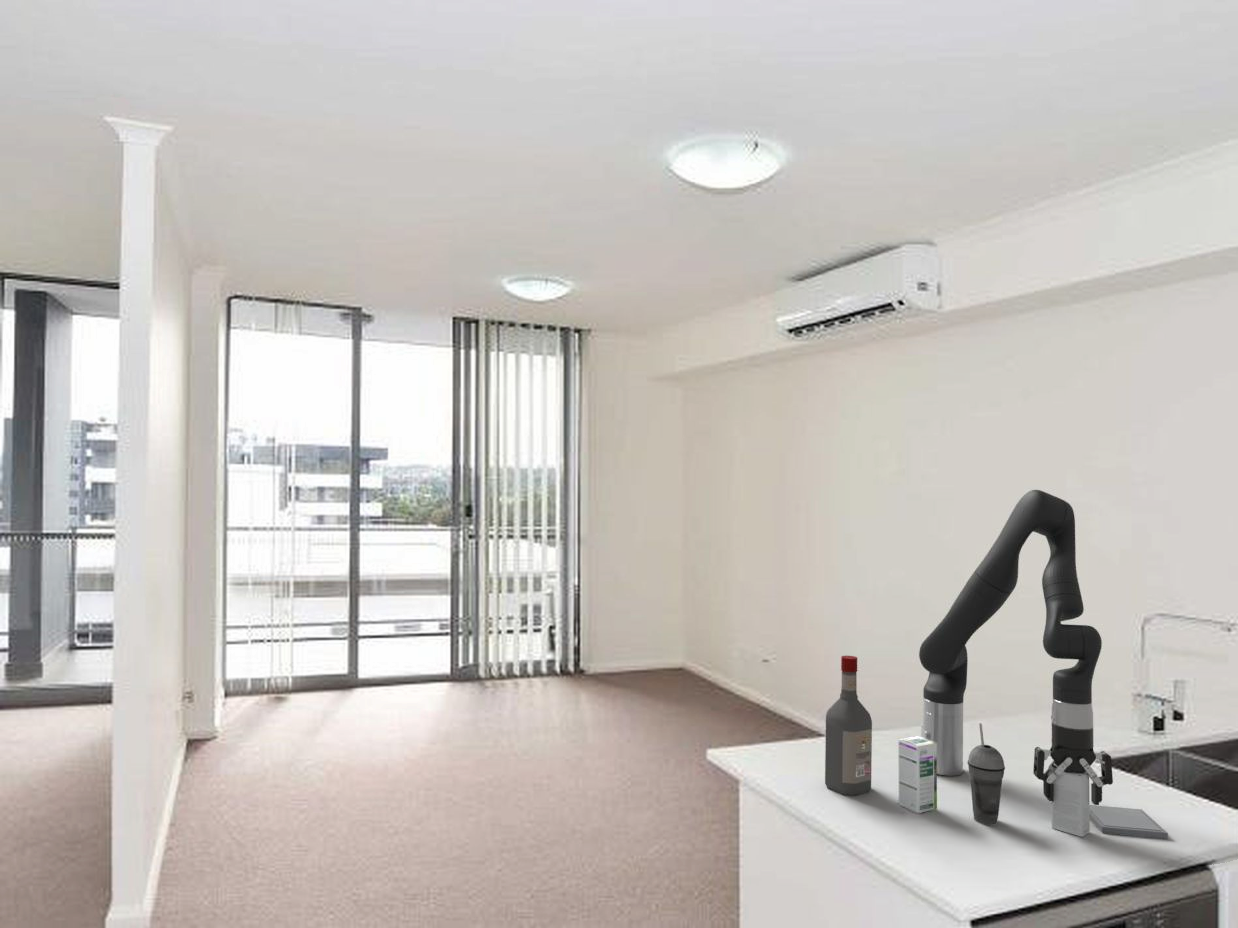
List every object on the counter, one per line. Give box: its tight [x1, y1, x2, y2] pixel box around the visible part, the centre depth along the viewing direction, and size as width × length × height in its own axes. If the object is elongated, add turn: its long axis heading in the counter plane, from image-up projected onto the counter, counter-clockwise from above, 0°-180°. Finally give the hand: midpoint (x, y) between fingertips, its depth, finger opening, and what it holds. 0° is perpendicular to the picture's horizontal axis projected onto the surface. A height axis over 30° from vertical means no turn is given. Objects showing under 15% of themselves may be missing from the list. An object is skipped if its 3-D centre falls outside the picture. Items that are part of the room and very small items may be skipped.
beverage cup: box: [967, 722, 1006, 826], centre depth 171 cm, size 7×7×20 cm
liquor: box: [824, 655, 873, 797], centre depth 188 cm, size 9×9×30 cm
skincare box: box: [1051, 771, 1091, 838], centre depth 167 cm, size 6×4×12 cm
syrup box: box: [897, 735, 938, 814], centre depth 178 cm, size 6×6×14 cm
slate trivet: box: [1089, 804, 1169, 840], centre depth 171 cm, size 12×12×1 cm
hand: (1072, 801), depth 167 cm, fingers open, 8 cm apart
